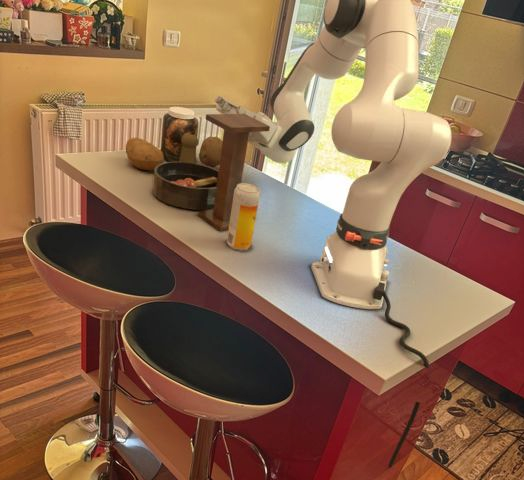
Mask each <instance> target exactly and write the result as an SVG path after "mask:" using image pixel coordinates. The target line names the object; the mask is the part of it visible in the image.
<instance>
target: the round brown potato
mask: <svg viewBox="0 0 524 480" xmlns="http://www.w3.org/2000/svg"><path fill="white" fill-rule="evenodd" d="M222 142H223V139H221V138H220V137H218V136H208V137H206V138H204V140H203V141H202V143H201V146H200V149H199V152H198V160H199V161H200V163H202V165H205V166H208V167H211V168H214V169H215V168H216V167H219V165H220V157H221V150H222Z"/></svg>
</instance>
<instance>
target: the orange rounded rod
mask: <svg viewBox="0 0 524 480" xmlns="http://www.w3.org/2000/svg"><path fill="white" fill-rule="evenodd" d="M170 182H172V183H175V184H178V185H182V186H187V187H194V188H195V187H198V186H202V185H207V184H212V183H216V182H217V178H215V177H211V178H206V179H201V180H197V181H194V180H193V179H191V178H186V179H184V180H177V181H176V182H175V181H170Z"/></svg>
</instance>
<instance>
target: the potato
mask: <svg viewBox="0 0 524 480" xmlns="http://www.w3.org/2000/svg"><path fill="white" fill-rule="evenodd" d="M125 153H126V154H125V155H126V157H127V159H128V161H129V162H130V163H131V164H132V165H133V166H135V167H136V168H138V169H139V170H143V171H151V172H154V169H155V167H156V166H157V165H159V164H162V163H164V161H165V160H164V156H163V153H162V151H161V149H159V148H158V147H157V146H155V145H154V144H152V143H151V142H150V141H147V140H145V139H143V138H139V137H131V138H129V139H128V140H126V144H125Z"/></svg>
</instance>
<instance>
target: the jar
mask: <svg viewBox="0 0 524 480" xmlns="http://www.w3.org/2000/svg"><path fill="white" fill-rule="evenodd" d="M195 113H196V112H195V111H194V110H192V109H190V108H187V107H183V106H171V107H169V108H168V112H167V113H164V115H163V117H162V126H161V140H160V141H161V142H160V150H161V151H162V153H163V156H164V160H163V161H166V162H179V159H180V155H181V150H182V146H183V145H182V142H181V138H182V136H183V135H184V134H192V135H195V136H196V137H197V138H199V137H198V136H199V119H198V118H197V117H195Z"/></svg>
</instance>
